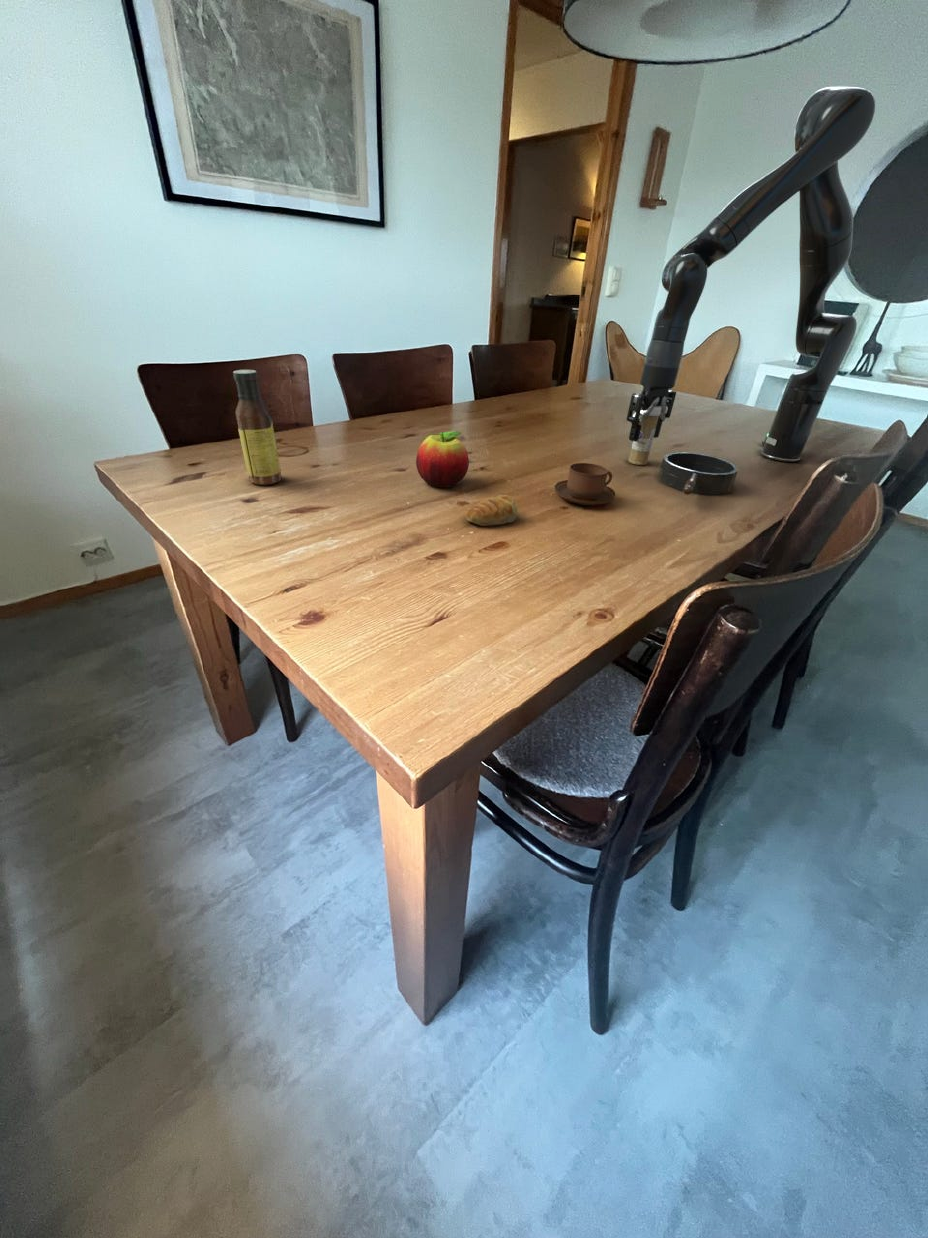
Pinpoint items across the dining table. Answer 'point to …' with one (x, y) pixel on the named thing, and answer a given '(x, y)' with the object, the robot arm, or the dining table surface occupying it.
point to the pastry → (493, 511)
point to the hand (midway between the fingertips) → (643, 438)
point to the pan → (698, 472)
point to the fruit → (442, 460)
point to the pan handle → (690, 484)
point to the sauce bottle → (256, 431)
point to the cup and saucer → (586, 485)
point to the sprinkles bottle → (645, 438)
